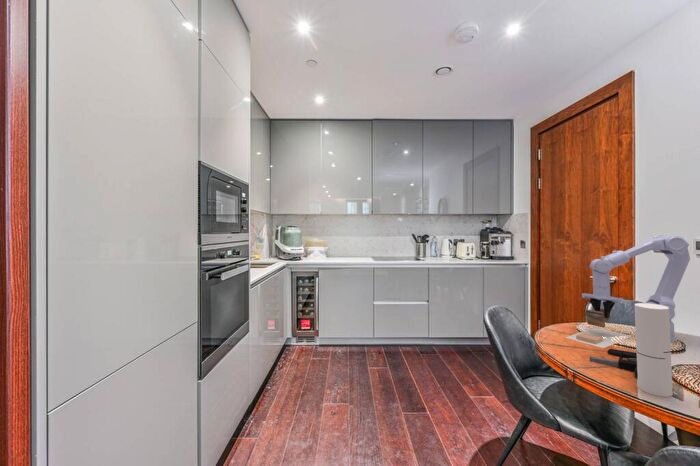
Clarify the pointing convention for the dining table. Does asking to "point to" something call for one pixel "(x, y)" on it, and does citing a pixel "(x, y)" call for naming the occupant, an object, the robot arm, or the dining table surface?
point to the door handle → (620, 363)
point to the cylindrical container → (653, 349)
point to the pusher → (596, 317)
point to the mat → (599, 333)
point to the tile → (589, 338)
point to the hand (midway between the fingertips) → (602, 316)
